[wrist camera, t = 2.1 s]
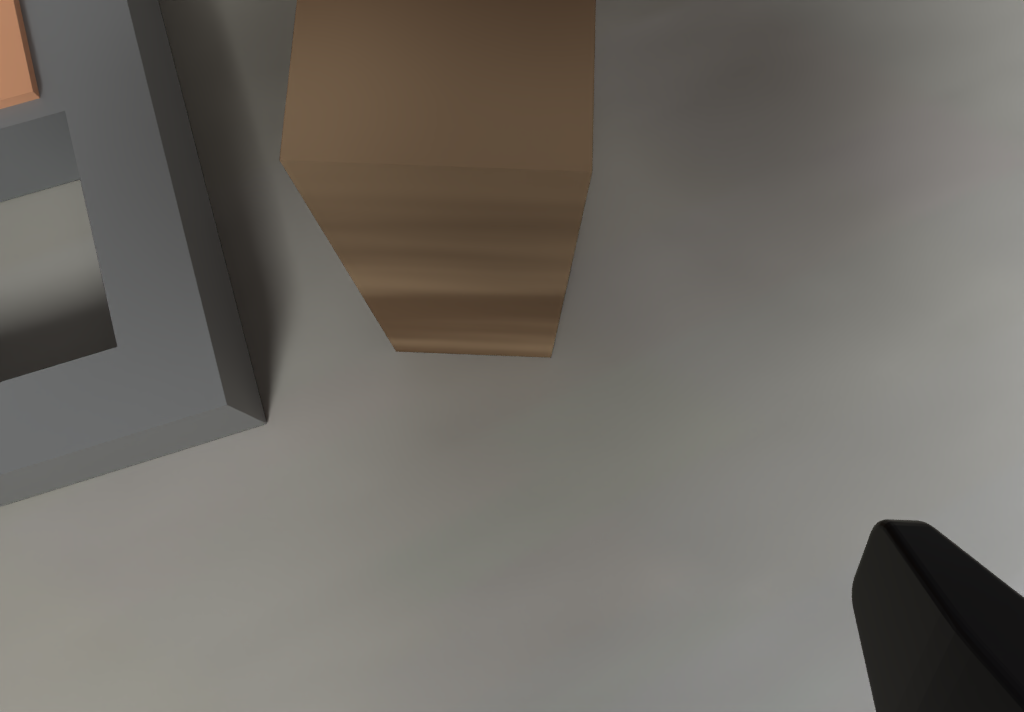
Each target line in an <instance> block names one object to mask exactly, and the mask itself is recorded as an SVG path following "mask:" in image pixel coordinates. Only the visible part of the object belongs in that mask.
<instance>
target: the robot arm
mask: <svg viewBox="0 0 1024 712" xmlns="http://www.w3.org/2000/svg"><path fill="white" fill-rule="evenodd" d="M852 604H853V610H854V614H855V619H856V623H857V628H858V632H859V637H860V641H861V646H862V650H863V655H864V659H865V664H866V668H867V673H868V677H869V682H870V686H871V691H872V695H873V700H874V704H875V709H876V712H1024V597H1022V596H1021V595H1020V594H1019V593H1017V592H1016V591H1015V590H1013V589H1012V588H1011V587H1010V586H1008V585H1007V584H1006V583H1004V582H1003V581H1002V580H1001V579H999V578H998V577H997V576H995V575H994V574H993V573H992V572H990V571H989V570H988V569H987V568H985V567H984V566H983V565H981V564H980V563H979V562H978V561H976V560H975V559H974V558H972V557H971V556H970V555H969V554H967V553H966V552H965V551H963V550H962V549H961V548H960V547H958V546H957V545H956V544H954V543H953V542H952V541H951V540H949V539H948V538H947V537H945V536H944V535H943V534H942V533H940V532H939V531H938V530H937V529H935V528H934V527H932V526H931V525H929V524H927V523H925V522H922V521H912V520H888V519H887V520H882V521H879V522H878V523H877V524H876V525H875V526H874V527H873V529H872V531H871V533H870V536H869V539H868V542H867V544H866V547H865V550H864V553H863V555H862V558H861V561H860V564H859V566H858V569H857V572H856V575H855V577H854V581H853V586H852Z"/></svg>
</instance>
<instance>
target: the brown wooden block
mask: <svg viewBox="0 0 1024 712" xmlns="http://www.w3.org/2000/svg"><path fill="white" fill-rule="evenodd" d="M595 8H596V0H297V5H296V14H295V23H294V32H293V41H292V51H291V60H290V69H289V78H288V87H287V96H286V105H285V115H284V124H283V133H282V142H281V151H280V162H281V163H282V165H283V166H284V168H285V170H286V171H287V173H288V175H289V176H290V178H291V180H292V181H293V183H294V185H295V186H296V188H297V189H298V191H299V193H300V194H301V196H302V198H303V199H304V201H305V203H306V204H307V206H308V208H309V209H310V211H311V212H312V214H313V216H314V217H315V219H316V221H317V222H318V224H319V226H320V227H321V229H322V231H323V232H324V234H325V235H326V237H327V239H328V240H329V242H330V244H331V245H332V247H333V249H334V250H335V252H336V253H337V255H338V257H339V258H340V260H341V262H342V263H343V265H344V267H345V268H346V270H347V272H348V273H349V275H350V276H351V278H352V280H353V281H354V283H355V285H356V286H357V288H358V290H359V291H360V293H361V295H362V296H363V298H364V299H365V301H366V303H367V304H368V306H369V308H370V309H371V311H372V313H373V314H374V316H375V317H376V319H377V321H378V322H379V324H380V326H381V327H382V329H383V331H384V332H385V334H386V336H387V337H388V339H389V340H390V342H391V344H392V345H393V347H394V349H395V350H396V351H399V352H424V353H450V354H475V355H501V356H526V357H551V355H552V350H553V346H554V341H555V337H556V332H557V328H558V323H559V319H560V314H561V310H562V305H563V301H564V296H565V292H566V287H567V283H568V278H569V274H570V269H571V265H572V260H573V256H574V251H575V247H576V242H577V238H578V233H579V229H580V224H581V220H582V215H583V211H584V206H585V202H586V197H587V193H588V188H589V184H590V179H591V175H592V158H593V108H594V58H595Z"/></svg>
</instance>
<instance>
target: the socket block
mask: <svg viewBox="0 0 1024 712" xmlns="http://www.w3.org/2000/svg"><path fill="white" fill-rule="evenodd" d="M79 179H80V181H81V185H82V190H83V194H84V199H85V203H86V208H87V212H88V217H89V221H90V226H91V230H92V235H93V239H94V244H95V248H96V253H97V257H98V262H99V266H100V271H101V275H102V280H103V284H104V289H105V293H106V298H107V302H108V307H109V311H110V316H111V320H112V325H113V329H114V334H115V338H116V343H117V347H115V348H112V349H108V350H105V351H102V352H98V353H95V354H92V355H88V356H85V357H82V358H78V359H75V360H72V361H68V362H65V363H62V364H58V365H55V366H52V367H48V368H45V369H42V370H38V371H35V372H32V373H29V374H25V375H22V376H19V377H15V378H12V379H9V380H5V381H2V382H0V506H4V505H7V504H10V503H13V502H17V501H20V500H23V499H26V498H29V497H33V496H36V495H39V494H42V493H45V492H49V491H52V490H55V489H58V488H62V487H65V486H68V485H71V484H74V483H78V482H81V481H84V480H87V479H91V478H94V477H97V476H100V475H103V474H107V473H110V472H113V471H116V470H119V469H123V468H126V467H129V466H132V465H136V464H139V463H142V462H145V461H148V460H152V459H155V458H158V457H161V456H165V455H168V454H171V453H174V452H177V451H181V450H184V449H187V448H190V447H193V446H197V445H200V444H203V443H206V442H210V441H213V440H216V439H219V438H222V437H226V436H229V435H232V434H235V433H238V432H242V431H245V430H248V429H251V428H255V427H258V426H261V425H264V424H267V423H266V419H265V415H264V411H263V407H262V403H261V399H260V395H259V391H258V388H257V384H256V380H255V376H254V372H253V368H252V364H251V360H250V356H249V352H248V349H247V345H246V341H245V337H244V333H243V329H242V325H241V321H240V317H239V314H238V310H237V306H236V302H235V298H234V294H233V290H232V286H231V282H230V278H229V275H228V271H227V267H226V263H225V259H224V255H223V251H222V247H221V243H220V240H219V236H218V232H217V228H216V224H215V220H214V216H213V212H212V208H211V204H210V201H209V197H208V193H207V189H206V185H205V181H204V177H203V173H202V169H201V165H200V162H199V158H198V154H197V150H196V146H195V142H194V138H193V134H192V130H191V127H190V123H189V119H188V115H187V111H186V107H185V103H184V99H183V95H182V91H181V88H180V84H179V80H178V76H177V72H176V68H175V64H174V60H173V56H172V53H171V49H170V45H169V41H168V37H167V33H166V29H165V25H164V21H163V17H162V14H161V10H160V6H159V2H158V0H0V202H2V201H5V200H9V199H12V198H16V197H19V196H23V195H26V194H30V193H33V192H37V191H40V190H44V189H47V188H51V187H54V186H58V185H61V184H65V183H68V182H72V181H75V180H79Z"/></svg>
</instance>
